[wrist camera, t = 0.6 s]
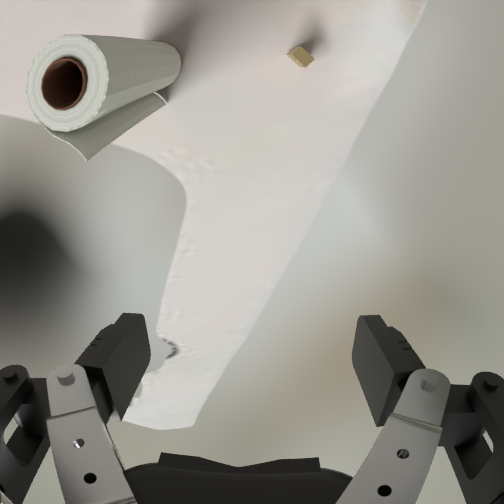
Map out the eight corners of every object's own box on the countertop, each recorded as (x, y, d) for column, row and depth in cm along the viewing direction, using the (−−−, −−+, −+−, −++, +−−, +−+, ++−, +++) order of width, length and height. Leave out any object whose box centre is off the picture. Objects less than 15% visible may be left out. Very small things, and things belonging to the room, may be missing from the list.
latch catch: (286, 54, 30) (291, 54, 27) (295, 47, 30) (301, 46, 27) (299, 66, 31) (305, 67, 28) (307, 58, 31) (314, 59, 27)
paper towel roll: (145, 35, 28) (40, 27, 11) (190, 51, 30) (123, 46, 12) (122, 88, 32) (12, 135, 14) (166, 104, 34) (85, 163, 16)
